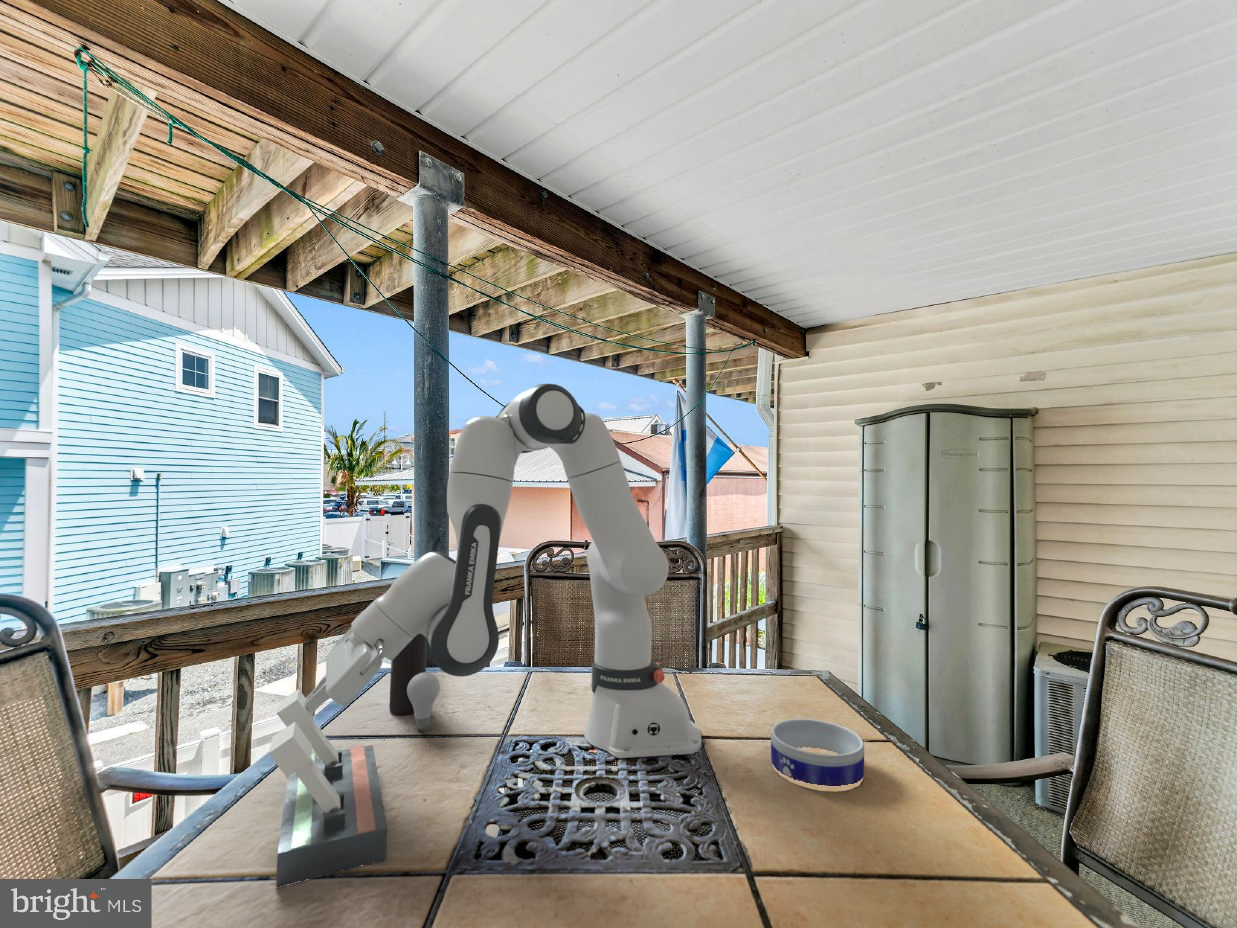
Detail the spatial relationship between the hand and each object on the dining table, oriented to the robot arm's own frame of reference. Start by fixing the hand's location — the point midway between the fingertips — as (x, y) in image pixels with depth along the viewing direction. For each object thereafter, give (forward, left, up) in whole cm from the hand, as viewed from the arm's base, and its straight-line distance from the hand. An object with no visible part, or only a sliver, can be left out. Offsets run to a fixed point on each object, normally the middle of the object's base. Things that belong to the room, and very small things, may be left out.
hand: (308, 705), depth 86 cm
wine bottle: (-1, -36, -14) cm, 38 cm away
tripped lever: (-3, -2, -9) cm, 10 cm away
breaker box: (-7, +4, -14) cm, 16 cm away
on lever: (-10, +11, -9) cm, 17 cm away
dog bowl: (-81, -15, -14) cm, 84 cm away
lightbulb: (-8, -26, -14) cm, 31 cm away
